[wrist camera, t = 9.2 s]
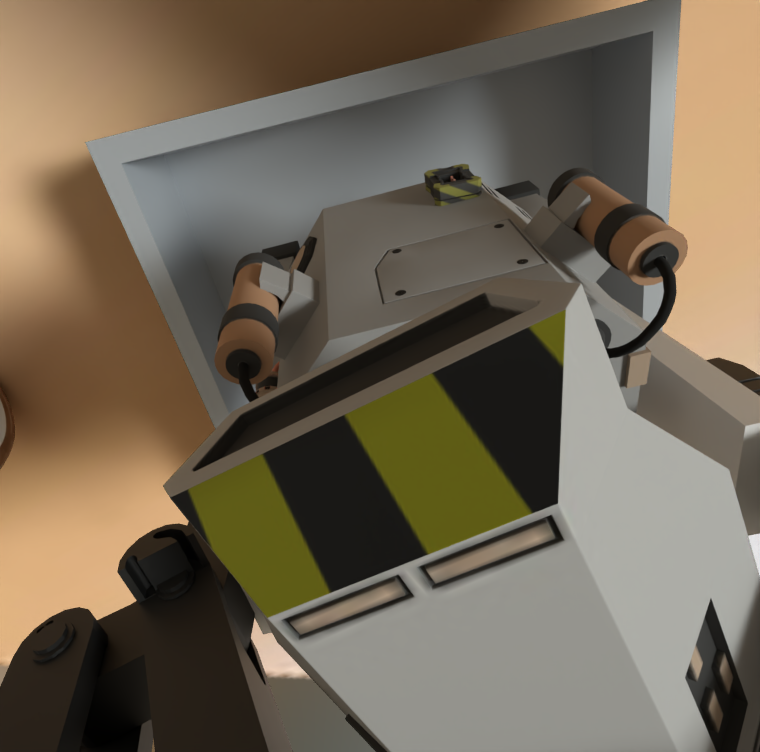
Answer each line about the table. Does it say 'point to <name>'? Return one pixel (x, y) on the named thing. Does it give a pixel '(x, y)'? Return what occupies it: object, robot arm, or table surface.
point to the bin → (393, 156)
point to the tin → (5, 429)
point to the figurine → (479, 479)
